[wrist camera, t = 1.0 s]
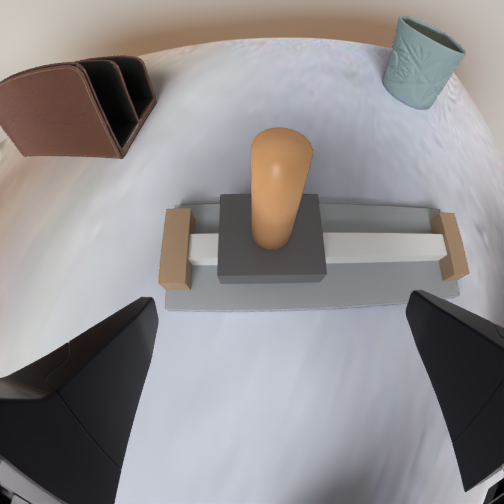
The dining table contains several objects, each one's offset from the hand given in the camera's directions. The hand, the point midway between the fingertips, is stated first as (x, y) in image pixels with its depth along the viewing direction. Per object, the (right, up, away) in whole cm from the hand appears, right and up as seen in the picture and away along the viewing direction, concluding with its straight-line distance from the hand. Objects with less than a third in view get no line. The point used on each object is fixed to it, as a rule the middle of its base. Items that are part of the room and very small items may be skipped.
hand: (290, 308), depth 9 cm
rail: (+5, +1, +14) cm, 15 cm away
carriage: (0, +2, +12) cm, 12 cm away
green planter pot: (+23, +26, +24) cm, 42 cm away
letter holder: (-24, +18, +21) cm, 37 cm away
